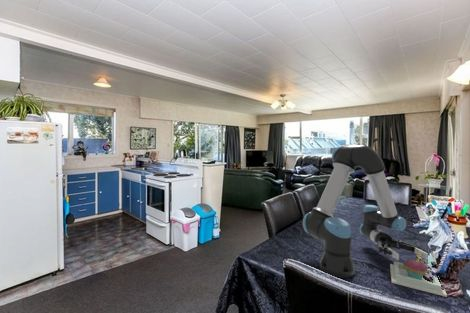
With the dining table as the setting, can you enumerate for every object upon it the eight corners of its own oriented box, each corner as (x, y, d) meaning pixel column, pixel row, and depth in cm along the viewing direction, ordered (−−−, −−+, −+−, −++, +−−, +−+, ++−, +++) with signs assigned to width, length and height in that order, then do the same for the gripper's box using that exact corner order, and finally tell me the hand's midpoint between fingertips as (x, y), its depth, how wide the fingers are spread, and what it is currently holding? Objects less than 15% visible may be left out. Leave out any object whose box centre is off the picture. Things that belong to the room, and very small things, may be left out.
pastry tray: (391, 282, 101) (392, 275, 101) (390, 265, 116) (390, 259, 116) (447, 297, 91) (447, 289, 91) (437, 275, 107) (437, 269, 106)
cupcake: (416, 272, 108) (417, 246, 108) (432, 282, 100) (433, 255, 99) (398, 272, 108) (399, 246, 107) (413, 282, 99) (413, 255, 99)
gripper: (403, 245, 128) (438, 264, 106) (358, 245, 127) (385, 265, 105) (403, 231, 127) (439, 248, 106) (359, 231, 126) (386, 248, 105)
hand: (412, 256), depth 106 cm, fingers open, 13 cm apart
